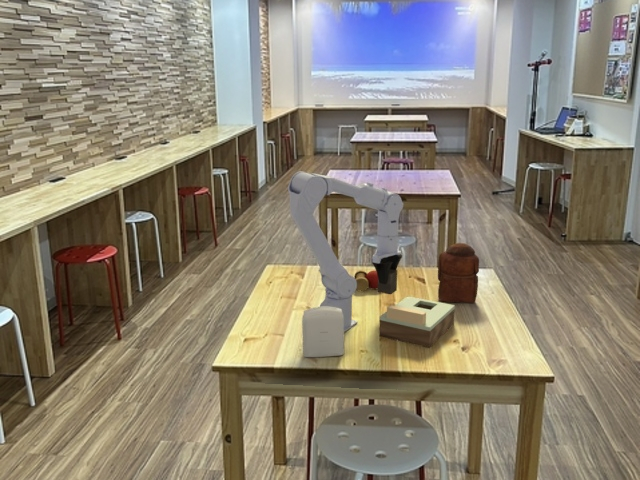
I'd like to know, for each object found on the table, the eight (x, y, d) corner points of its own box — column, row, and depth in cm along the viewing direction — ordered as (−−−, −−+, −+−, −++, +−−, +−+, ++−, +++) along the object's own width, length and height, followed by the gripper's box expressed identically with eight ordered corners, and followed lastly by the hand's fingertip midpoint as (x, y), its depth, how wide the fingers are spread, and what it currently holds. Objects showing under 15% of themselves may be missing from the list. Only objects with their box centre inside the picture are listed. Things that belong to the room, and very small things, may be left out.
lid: (429, 331, 154) (430, 316, 153) (379, 319, 161) (380, 305, 160) (454, 308, 169) (455, 295, 168) (407, 299, 176) (408, 286, 175)
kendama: (328, 296, 196) (385, 289, 195) (326, 276, 196) (382, 269, 194) (329, 292, 204) (384, 286, 202) (327, 273, 203) (381, 267, 202)
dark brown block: (390, 294, 172) (391, 274, 170) (377, 292, 174) (378, 271, 172) (396, 290, 175) (397, 270, 173) (383, 288, 177) (384, 268, 175)
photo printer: (303, 359, 149) (302, 311, 146) (301, 351, 153) (301, 304, 150) (345, 357, 150) (345, 309, 147) (342, 349, 154) (343, 303, 151)
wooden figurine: (474, 297, 191) (477, 241, 187) (477, 304, 185) (481, 246, 181) (435, 295, 192) (438, 240, 188) (437, 303, 186) (440, 245, 182)
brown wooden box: (429, 347, 155) (429, 331, 154) (379, 336, 162) (379, 320, 161) (453, 324, 170) (454, 309, 169) (406, 314, 177) (407, 299, 176)
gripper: (389, 242, 162) (388, 291, 166) (411, 230, 174) (409, 276, 178) (365, 238, 166) (365, 286, 169) (388, 227, 178) (387, 272, 181)
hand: (386, 281), depth 174 cm, fingers closed on dark brown block, 4 cm apart
